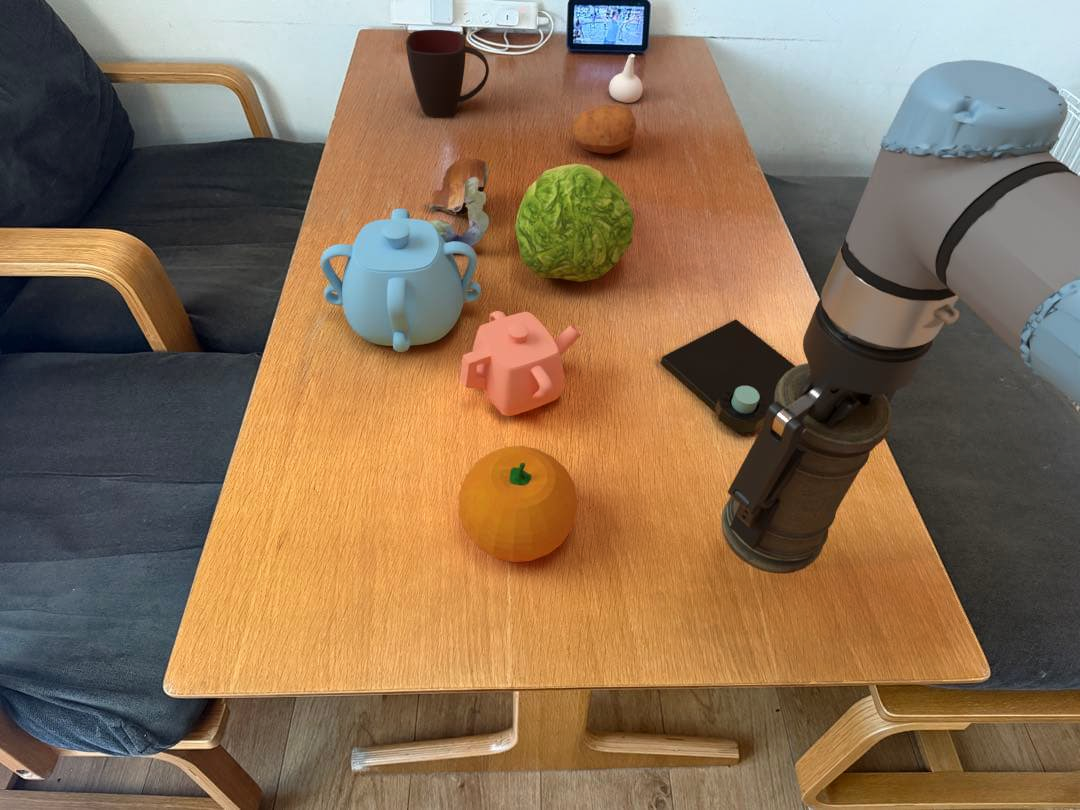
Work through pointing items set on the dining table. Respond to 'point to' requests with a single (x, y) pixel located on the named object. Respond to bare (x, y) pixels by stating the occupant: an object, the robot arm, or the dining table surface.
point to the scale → (729, 372)
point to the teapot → (517, 362)
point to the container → (812, 483)
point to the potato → (604, 128)
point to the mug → (440, 70)
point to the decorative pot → (401, 282)
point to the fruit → (518, 503)
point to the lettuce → (573, 224)
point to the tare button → (745, 399)
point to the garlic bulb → (626, 84)
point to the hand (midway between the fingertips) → (779, 512)
